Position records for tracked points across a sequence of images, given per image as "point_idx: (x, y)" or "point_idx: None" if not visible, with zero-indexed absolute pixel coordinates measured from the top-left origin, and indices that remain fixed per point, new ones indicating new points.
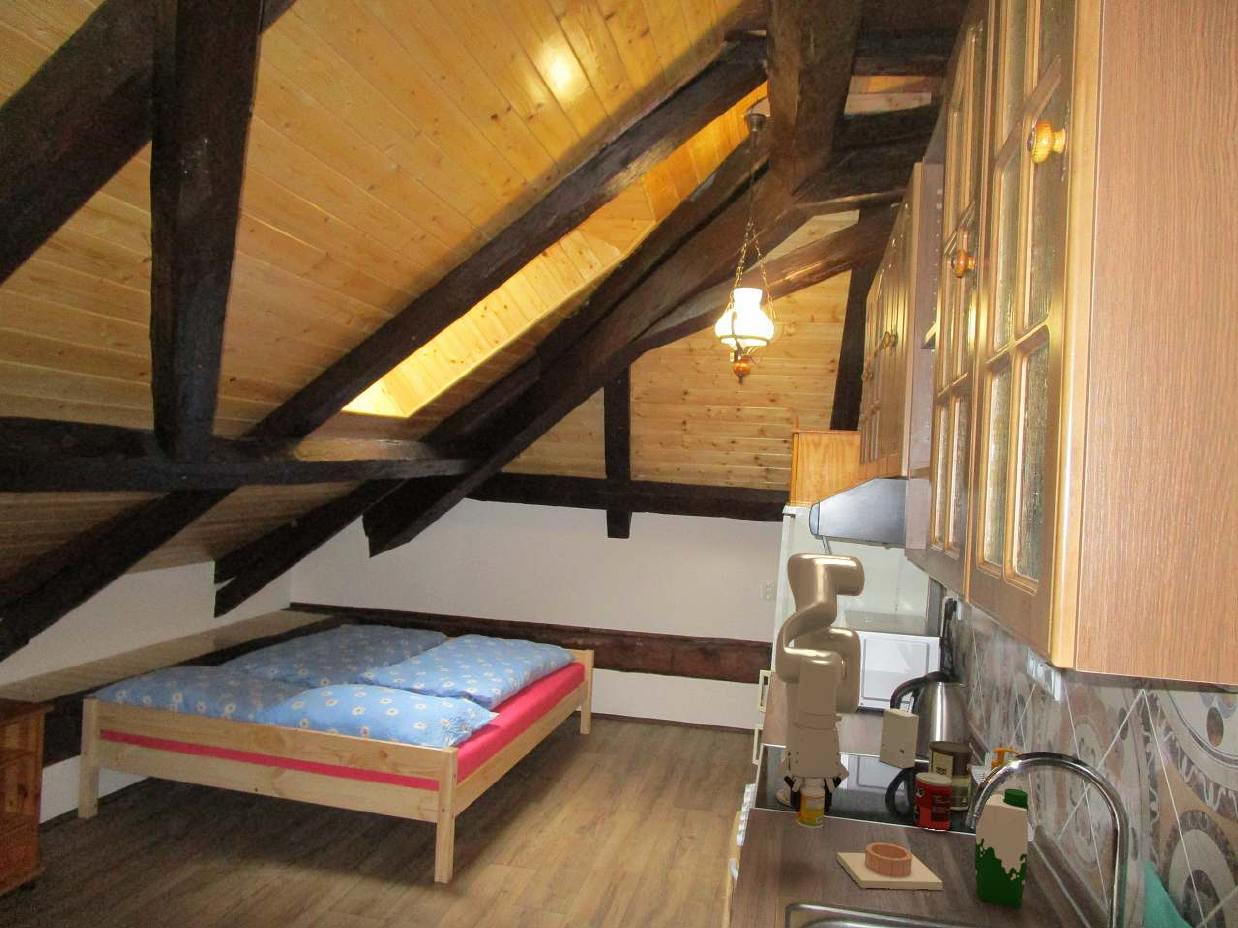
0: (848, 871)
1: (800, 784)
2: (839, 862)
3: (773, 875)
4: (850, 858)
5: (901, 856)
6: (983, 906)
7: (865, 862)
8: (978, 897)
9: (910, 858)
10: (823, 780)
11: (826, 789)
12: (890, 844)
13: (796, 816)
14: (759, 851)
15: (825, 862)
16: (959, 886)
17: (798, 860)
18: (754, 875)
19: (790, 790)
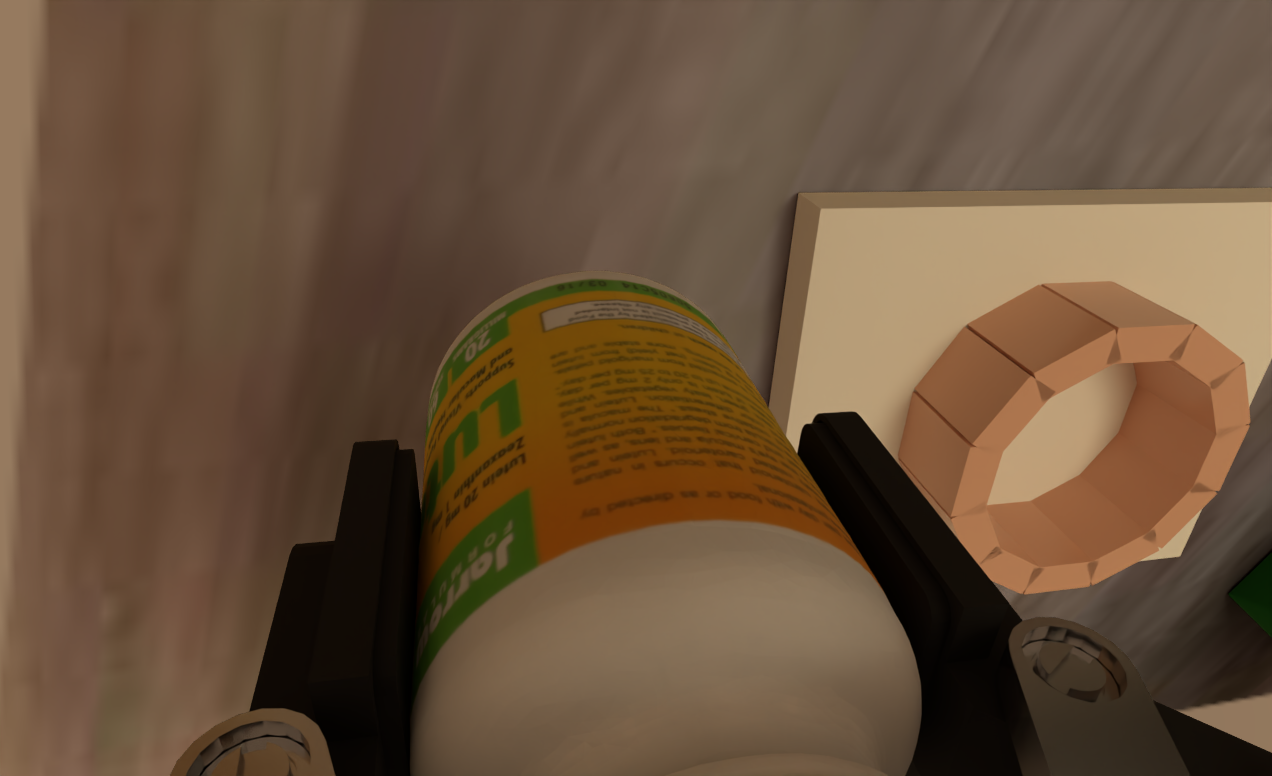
0: (773, 408)
1: (482, 743)
2: (791, 249)
3: (222, 490)
4: (863, 312)
5: (1175, 401)
6: (1190, 641)
7: (916, 403)
8: (1235, 595)
9: (1153, 550)
10: (1036, 763)
11: (929, 772)
12: (1205, 352)
13: (425, 440)
14: (131, 37)
15: (688, 245)
16: (1262, 483)
17: (480, 223)
18: (69, 507)
19: (251, 706)
